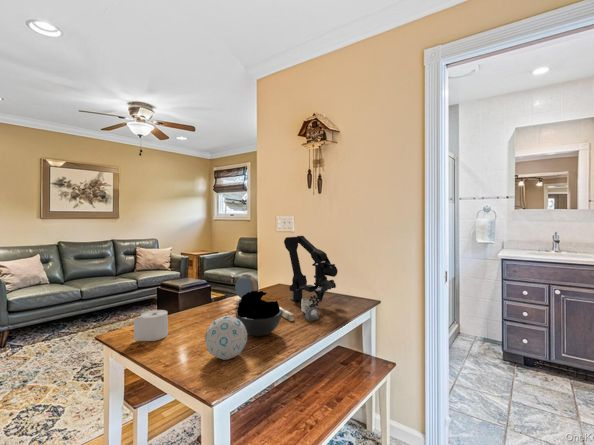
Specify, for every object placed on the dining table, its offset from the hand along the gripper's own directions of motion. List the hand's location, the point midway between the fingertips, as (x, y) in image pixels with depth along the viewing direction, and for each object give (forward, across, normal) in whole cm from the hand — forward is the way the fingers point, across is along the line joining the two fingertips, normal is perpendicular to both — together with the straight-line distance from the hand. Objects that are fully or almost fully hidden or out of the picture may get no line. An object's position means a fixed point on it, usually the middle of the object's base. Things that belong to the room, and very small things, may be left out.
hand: (320, 301), depth 173 cm
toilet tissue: (+3, -86, +5) cm, 86 cm away
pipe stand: (+3, -16, -13) cm, 21 cm away
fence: (+3, -25, -2) cm, 26 cm away
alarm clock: (+3, -33, +28) cm, 44 cm away
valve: (+3, -8, 0) cm, 9 cm away
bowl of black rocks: (+3, -46, -18) cm, 50 cm away
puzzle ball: (+3, -66, -30) cm, 72 cm away
